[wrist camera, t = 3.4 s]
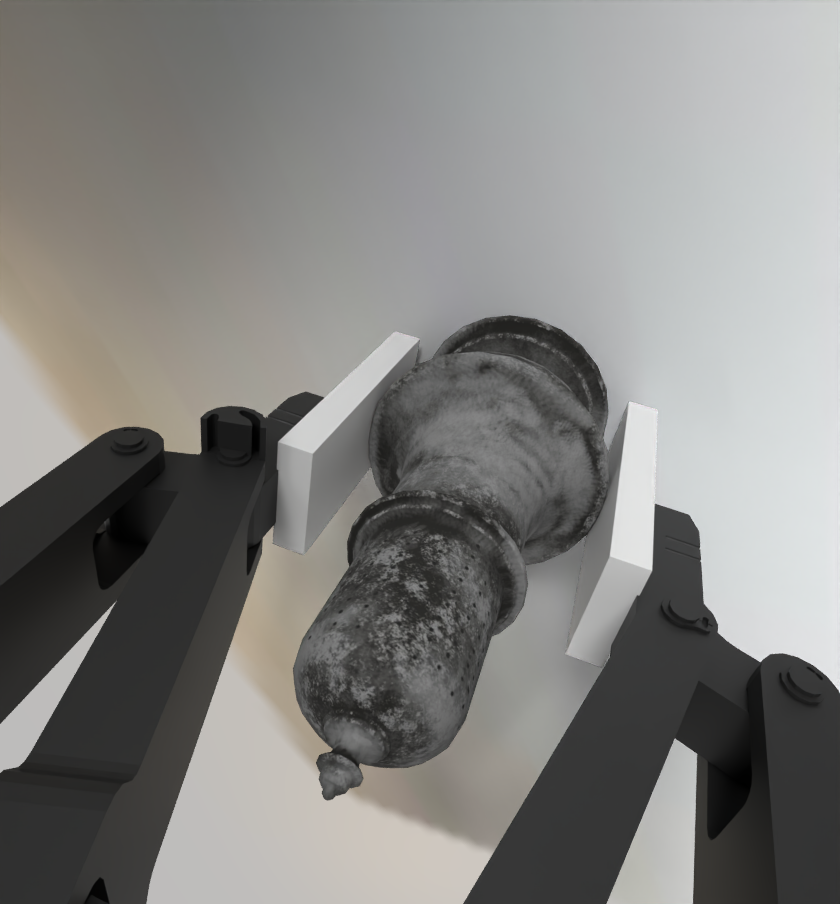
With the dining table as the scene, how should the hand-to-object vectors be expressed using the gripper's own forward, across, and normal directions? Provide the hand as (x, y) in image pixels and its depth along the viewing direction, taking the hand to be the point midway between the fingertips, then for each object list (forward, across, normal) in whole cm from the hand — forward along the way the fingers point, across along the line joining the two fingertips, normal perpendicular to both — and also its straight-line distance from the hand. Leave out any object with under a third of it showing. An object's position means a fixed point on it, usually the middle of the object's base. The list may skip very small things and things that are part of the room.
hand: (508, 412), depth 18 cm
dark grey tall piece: (+1, 0, 0) cm, 1 cm away
